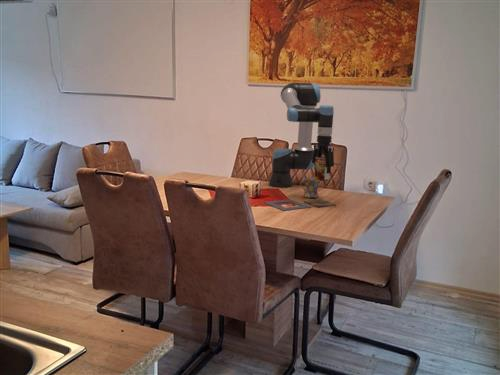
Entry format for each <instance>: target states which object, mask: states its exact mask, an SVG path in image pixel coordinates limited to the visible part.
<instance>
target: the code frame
mask: <svg viewBox="0 0 500 375" xmlns="http://www.w3.org/2000/svg"><path fill="white" fill-rule="evenodd" d="M284 203H287V204H284ZM263 204H265V205H268V206H270V207H273V208H276V209H277V210H279V211H283V212H287V211H295V210H296V211H297V210H302V209H311V208H312V205H309V204H306V203H304V202H299V201H297V200H294V199H292V198H290V199H282V200H273V201H271V200H270V201H264V202H263ZM279 204H280V205H279ZM293 204H294V205H295V206H293ZM296 205H297V206H296Z"/></svg>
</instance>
